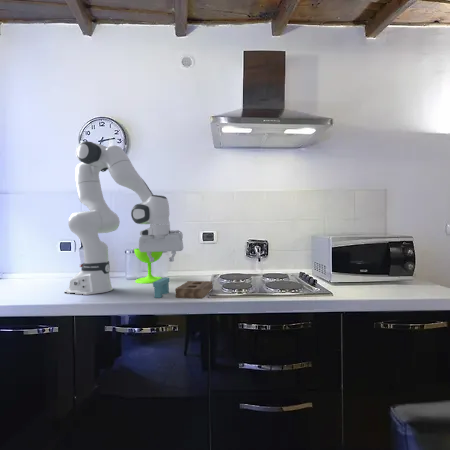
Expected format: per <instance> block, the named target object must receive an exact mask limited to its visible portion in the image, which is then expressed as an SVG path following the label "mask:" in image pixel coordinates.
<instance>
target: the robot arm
mask: <svg viewBox="0 0 450 450" xmlns="http://www.w3.org/2000/svg"><path fill="white" fill-rule="evenodd" d="M75 149H76V150H75V156H76V158H77V160H79V161H80V163H78V164H77V165H76V167H75V182H76V190H77V195H78V200H79V202H80V203H81V204H82V205H84V206H86V208H88V211H87V210H84V211H83V210H82V211H77V212H73V213H72V214H71V215H70V217H69V218H68V228H69V229H70V231H71V232H72V233H73V234H75V236H77V237H78V239H79V240H80V243H81V245H82V248H83V257H84V258H83V260H84V262H83V263H81V264H80V265H79V268H81V270H80V271H79V272H78V273H77V274H76V275H74V276H73V277H71V278H70V281H69V284H68V288H67V289H64V290H63V292H67V293H66V294H70V293H75V294H74V295H82V294H83V295H84V296H88V295H95V294H103V293H107V292H110V291H113V290H114V289H113V286H112V282H111V278H110V272H111V271H110V261H109V249H108V248H109V247H108V244H107V243H105V242H104V241H101V239H100V237H99V234H108V233H112V232H115V231H117V230H118V229H119V226H120V217H119V215H118V214H117V213H115V212H114V211H113V210H112V209H111V208H110V207H109V205H108V204H107V202H106V200H105V198H104V195H103V191H102V186H101V181H100V172H102V173H104V172H106V171H108V172H109V174H110V176H111V178H112V179H113V180H114V181H115V183H116V184H118V185H119V186H122V187H124V188H127V189H129V190H131V191H133V192H135V193H136V194H137V196H138V197H139V198H140V200H141V201H142V202H139V203H136V204H134V205H133V207H132V208H131V211H130V215H131V219H132V221H133V222H134V223H135V224H137V225H149V227H148V228H145V229H142V230H140V231H139V235H140V237H139V239H138V248H139V250H140V252H147V255H148V257H149V258H150V262H153V263H155V262H154V258H152V256H151V254H152V252H163V253H164V252H171V254H172V255H171V256H170V257H169V258H168V259H169V262H171V263H172V262H174V261H175V256H176V254H177V252H182V251H183V250H184V242H183V235H184V234H183V232H182V231H180V230H179V229H176V230H171V222H170V205H169V204H170V203H169V200H168V198H167V197H166V196H164V195H157V194H153V191H152V190H151V188H150V187H149V186H148V184H147V183H146V181H145V180H144V179H143V178H142V176H141V175H140V174H139V172H138V171H137V170H136V169H135V167H134V165H133V163H132V162H131V160H130V158H129V156H128V155H127V153H126V152H125V150H124V149H123V148H122V147H121V146H119V145H111V146H109V147H108V146H106V145H103V144H100V143H96V142H93V141H82V142H80V143H79V144H77V147H76V148H75Z"/></svg>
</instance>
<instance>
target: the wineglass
mask: <svg viewBox="0 0 450 450" xmlns="http://www.w3.org/2000/svg"><path fill="white" fill-rule="evenodd" d="M133 250H134V256H135V257H136V258H137V260H139V261H140V262H142V263H145V264H147V275H146V276H145V277H138V278H137V279H135V280H134V282H135V283H136V284H141V285H143V284H145V285H147V284H153V282H155V281H157V280H159V279H161V278H163V277H161V276H154V275H153V274H152V264H153V263H155V262H157V261H159V259H161V257H162V255H163V253H164V252H152V254H151V256H152V258H154V262H150V258H149V257H148V255H147V252H140V250H139V247H138V248H137V247H136V248H134V249H133Z"/></svg>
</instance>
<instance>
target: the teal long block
mask: <svg viewBox="0 0 450 450" xmlns="http://www.w3.org/2000/svg"><path fill="white" fill-rule="evenodd" d="M170 281H171V280H170V277H162V278H161V279H159V280H157V281H155V282H153V283H152V287H153V290H154V291H153V293H154V299H161V298H162V297H163V295H167V294H169V293H170V288H169V287H170V286H169V284H170Z"/></svg>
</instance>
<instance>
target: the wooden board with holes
mask: <svg viewBox="0 0 450 450" xmlns="http://www.w3.org/2000/svg"><path fill="white" fill-rule="evenodd" d="M211 289H212V290H213V280H212V281H210V280H209V281H207V280H205V281H204V280H188V281H186V282H184V283H183V284H181V285H179V286H177V287H176V288H175V289H174V290H175V299H203V298H205V296H207V295H208V294H209V293H210V292H211V291H212V290H211ZM210 290H211V291H210ZM209 291H210V292H209Z"/></svg>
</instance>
